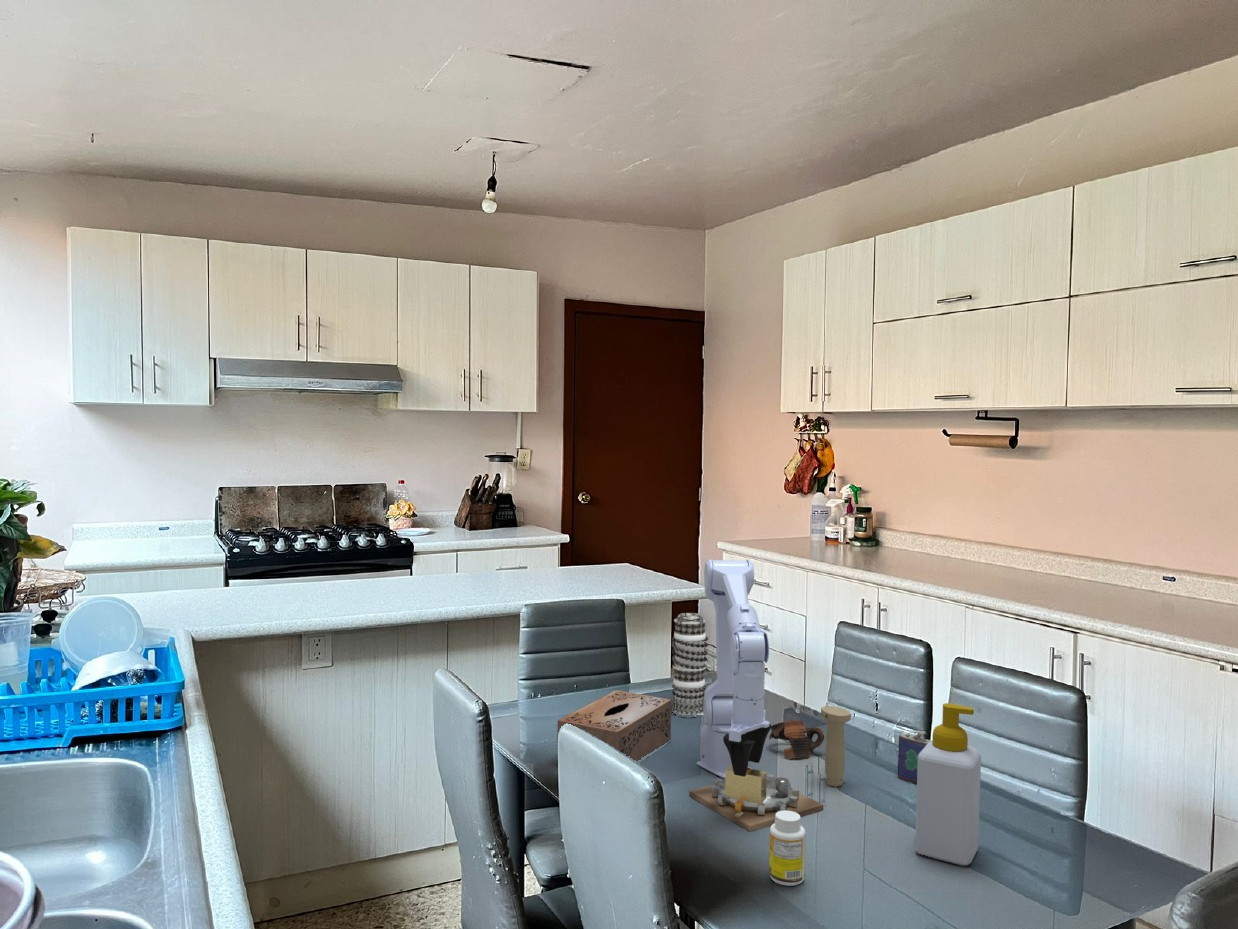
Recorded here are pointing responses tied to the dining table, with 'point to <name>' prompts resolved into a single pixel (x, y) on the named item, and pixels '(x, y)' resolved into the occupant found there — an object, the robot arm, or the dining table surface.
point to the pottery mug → (797, 738)
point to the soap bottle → (948, 792)
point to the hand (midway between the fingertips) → (747, 768)
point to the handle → (835, 743)
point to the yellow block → (746, 785)
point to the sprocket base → (752, 818)
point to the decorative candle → (689, 664)
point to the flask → (910, 755)
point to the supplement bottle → (787, 849)
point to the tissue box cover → (626, 722)
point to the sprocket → (776, 796)
